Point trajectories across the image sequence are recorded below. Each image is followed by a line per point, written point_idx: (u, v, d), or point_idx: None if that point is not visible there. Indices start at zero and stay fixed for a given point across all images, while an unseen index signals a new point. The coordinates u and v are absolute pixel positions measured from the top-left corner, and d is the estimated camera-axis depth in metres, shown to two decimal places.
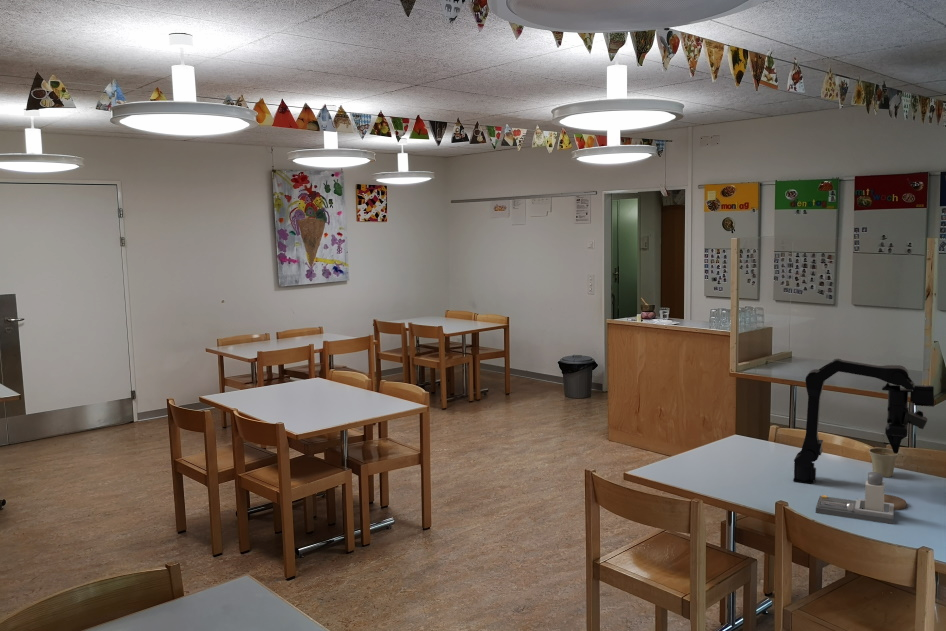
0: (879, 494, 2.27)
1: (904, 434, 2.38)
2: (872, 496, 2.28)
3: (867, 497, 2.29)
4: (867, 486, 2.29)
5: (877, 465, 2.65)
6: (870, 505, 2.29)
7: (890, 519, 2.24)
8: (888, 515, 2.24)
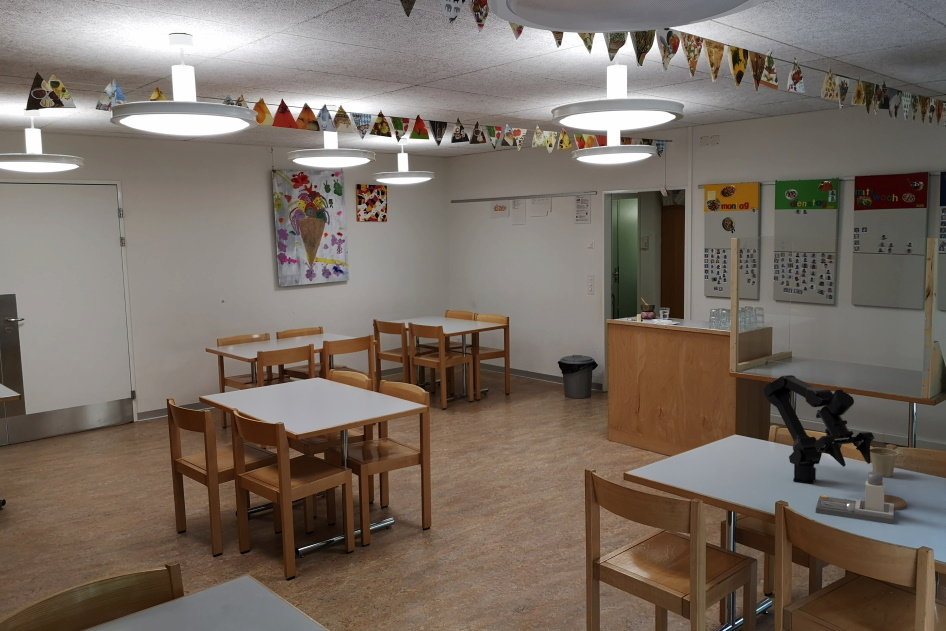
0: (879, 494, 2.27)
1: None
2: (872, 496, 2.28)
3: (867, 497, 2.29)
4: (867, 486, 2.29)
5: (877, 465, 2.65)
6: (870, 505, 2.29)
7: (890, 519, 2.24)
8: (888, 515, 2.24)
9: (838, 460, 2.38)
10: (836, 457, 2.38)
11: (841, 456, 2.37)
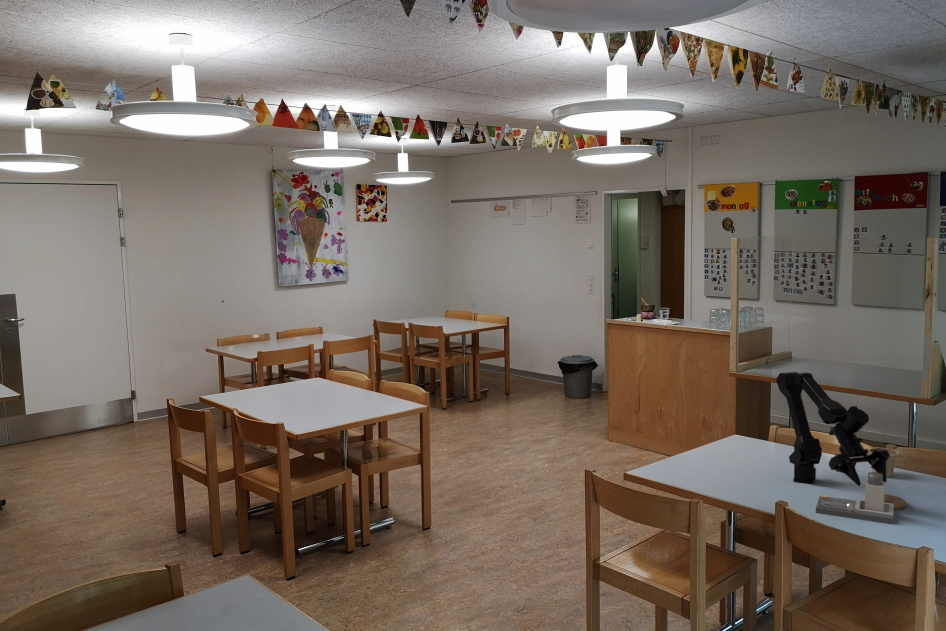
0: (879, 494, 2.27)
1: None
2: (872, 496, 2.28)
3: (867, 497, 2.29)
4: (867, 486, 2.29)
5: None
6: (870, 505, 2.29)
7: (890, 519, 2.24)
8: (888, 515, 2.24)
9: (853, 479, 2.31)
10: (851, 476, 2.32)
11: (856, 475, 2.31)
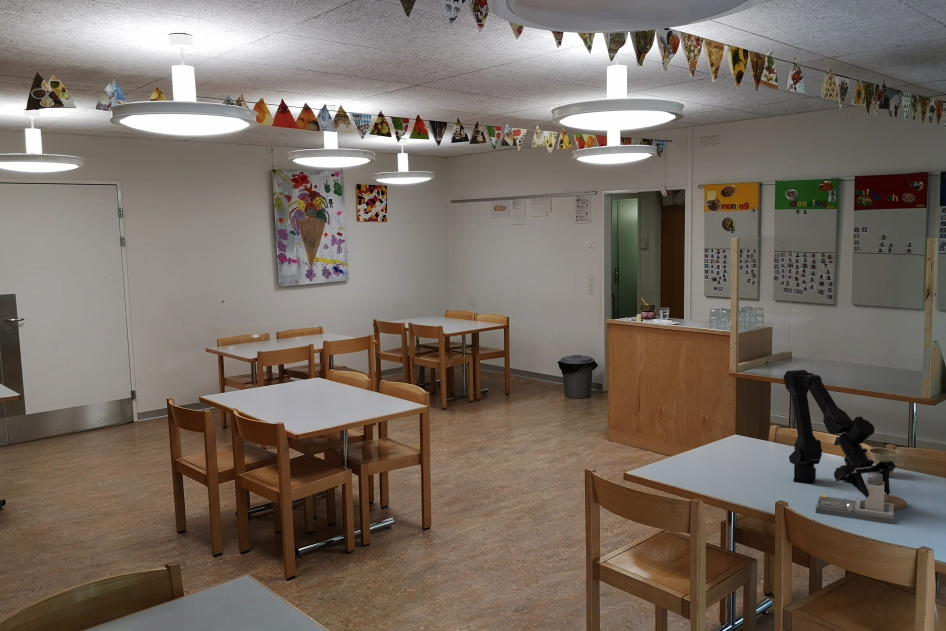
0: (879, 494, 2.27)
1: None
2: (873, 496, 2.28)
3: (867, 497, 2.29)
4: (867, 486, 2.29)
5: None
6: (870, 505, 2.29)
7: (890, 519, 2.24)
8: (888, 515, 2.24)
9: (861, 490, 2.30)
10: (859, 487, 2.30)
11: (864, 486, 2.29)
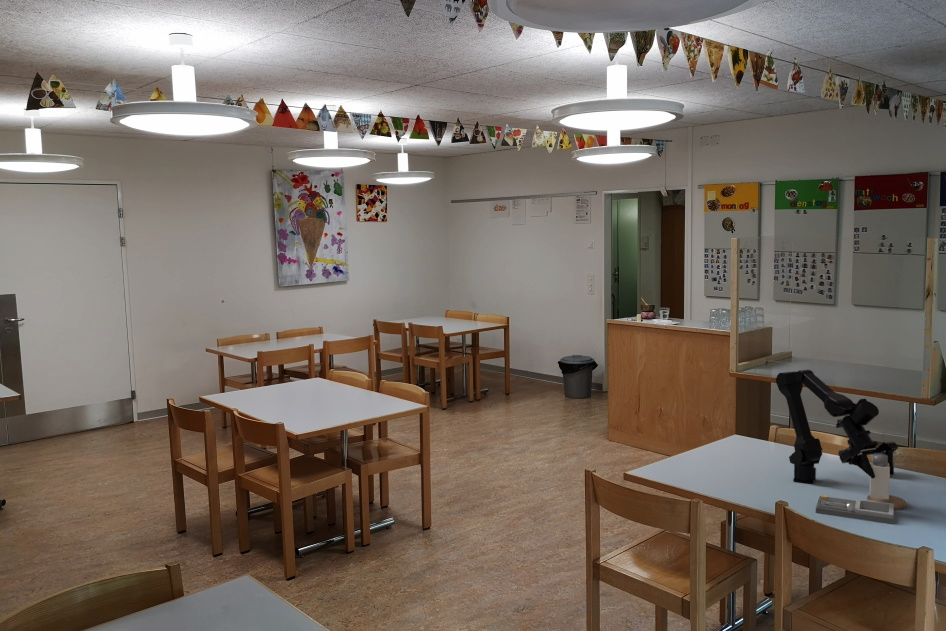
0: (885, 475, 2.29)
1: None
2: (878, 477, 2.30)
3: (873, 478, 2.31)
4: (873, 467, 2.30)
5: None
6: (875, 487, 2.30)
7: (890, 519, 2.24)
8: (888, 515, 2.24)
9: (867, 472, 2.31)
10: (865, 469, 2.31)
11: (870, 468, 2.30)
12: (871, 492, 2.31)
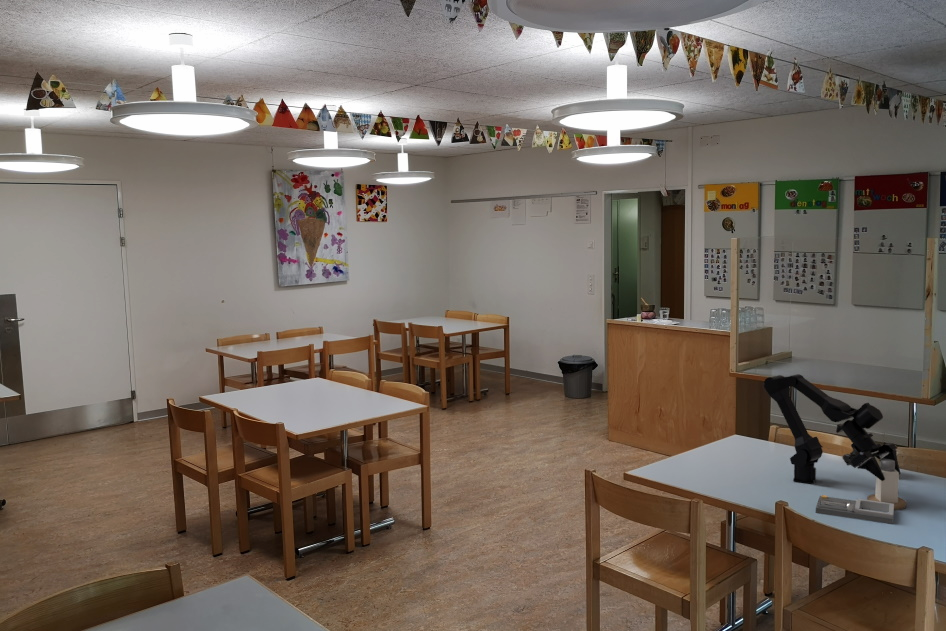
0: (894, 479, 2.36)
1: None
2: (888, 482, 2.37)
3: (883, 484, 2.37)
4: (883, 473, 2.37)
5: None
6: (886, 491, 2.37)
7: (890, 519, 2.24)
8: (888, 515, 2.24)
9: (877, 475, 2.36)
10: (874, 472, 2.36)
11: (880, 470, 2.35)
12: (881, 497, 2.38)
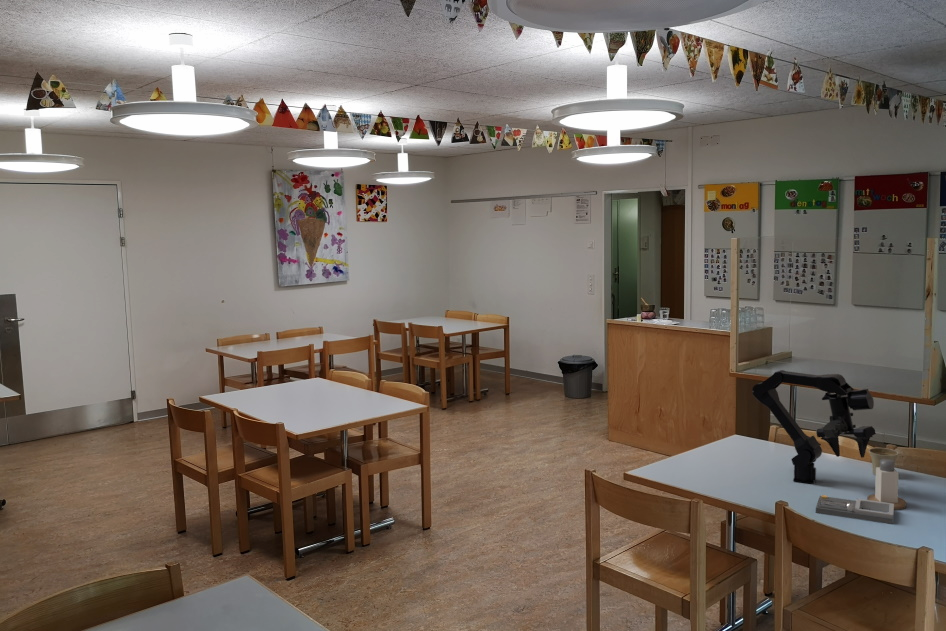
0: (894, 479, 2.36)
1: None
2: (888, 482, 2.37)
3: (883, 484, 2.37)
4: (883, 473, 2.37)
5: (877, 465, 2.65)
6: (885, 492, 2.37)
7: (890, 519, 2.24)
8: (888, 515, 2.24)
9: (863, 451, 2.47)
10: (863, 447, 2.47)
11: None
12: (881, 497, 2.38)
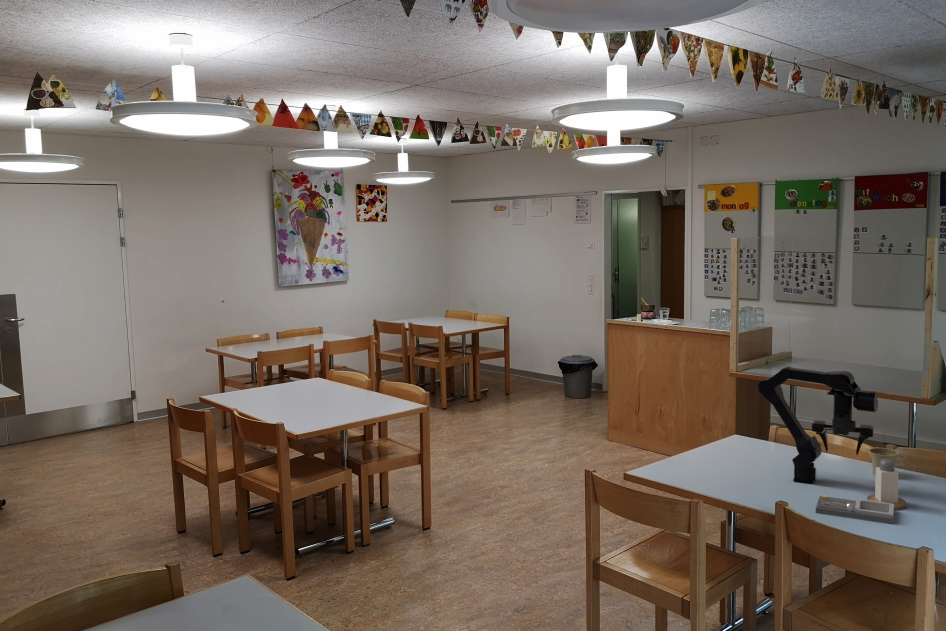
0: (894, 479, 2.36)
1: None
2: (888, 482, 2.37)
3: (883, 484, 2.37)
4: (883, 473, 2.37)
5: (877, 465, 2.65)
6: (885, 492, 2.37)
7: (890, 519, 2.24)
8: (888, 515, 2.24)
9: (859, 448, 2.52)
10: (860, 445, 2.52)
11: None
12: (881, 497, 2.38)
